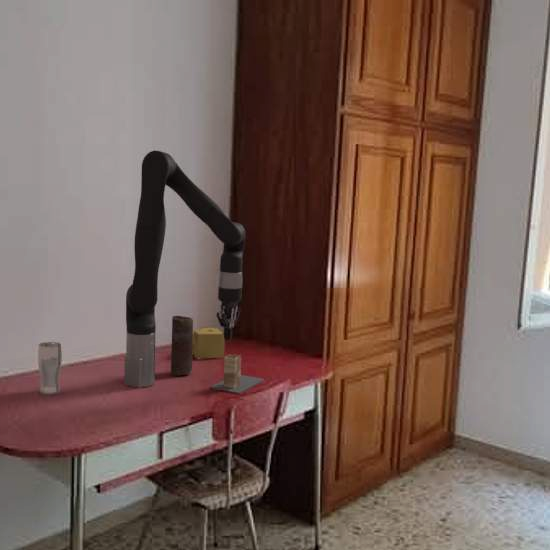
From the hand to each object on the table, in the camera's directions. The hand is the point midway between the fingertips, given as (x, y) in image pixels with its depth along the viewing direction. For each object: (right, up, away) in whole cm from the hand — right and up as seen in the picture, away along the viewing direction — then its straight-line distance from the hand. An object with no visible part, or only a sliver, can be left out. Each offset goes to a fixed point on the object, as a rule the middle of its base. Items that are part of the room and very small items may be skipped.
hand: (227, 339), depth 229 cm
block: (+1, -16, +5) cm, 17 cm away
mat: (+3, -16, +9) cm, 18 cm away
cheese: (-11, -11, +44) cm, 46 cm away
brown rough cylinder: (-17, -14, +18) cm, 29 cm away
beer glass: (-55, -16, -7) cm, 57 cm away
